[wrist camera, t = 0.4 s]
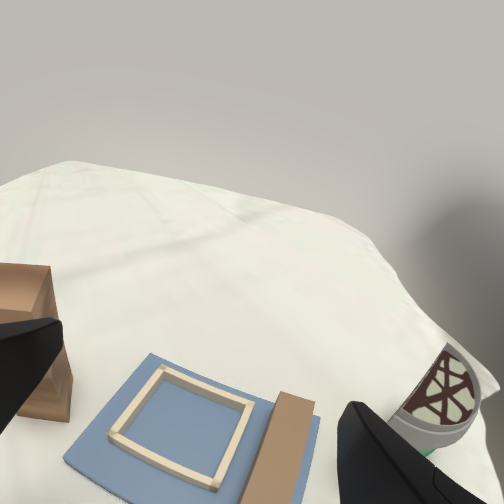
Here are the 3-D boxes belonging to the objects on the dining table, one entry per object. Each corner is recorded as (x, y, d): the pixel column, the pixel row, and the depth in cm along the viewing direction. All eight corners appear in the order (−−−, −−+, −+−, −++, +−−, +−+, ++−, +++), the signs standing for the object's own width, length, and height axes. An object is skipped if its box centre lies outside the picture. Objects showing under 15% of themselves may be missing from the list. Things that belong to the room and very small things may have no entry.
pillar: (69, 422, 19) (31, 311, 14) (17, 415, 17) (-34, 304, 12) (73, 377, 23) (50, 265, 18) (26, 372, 22) (-8, 262, 16)
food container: (383, 516, 16) (464, 462, 12) (334, 477, 20) (397, 412, 16) (438, 436, 24) (495, 372, 20) (399, 407, 28) (448, 339, 24)
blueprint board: (281, 558, 13) (300, 551, 11) (65, 462, 16) (50, 439, 14) (316, 422, 25) (333, 397, 24) (150, 359, 28) (150, 330, 27)
